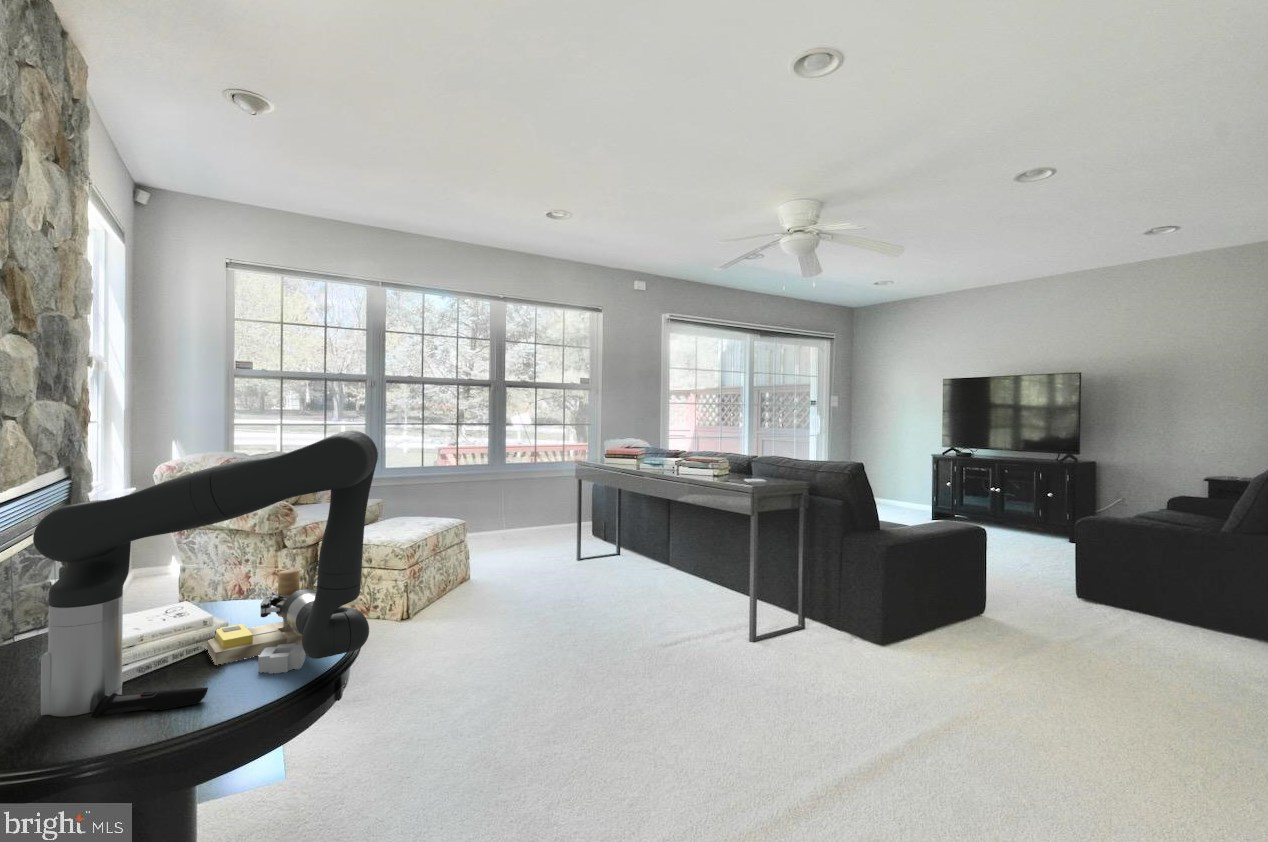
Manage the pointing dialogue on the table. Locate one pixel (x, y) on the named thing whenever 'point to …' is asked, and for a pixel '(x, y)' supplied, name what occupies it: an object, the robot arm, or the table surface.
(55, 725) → the table surface
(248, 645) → the board
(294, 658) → the block
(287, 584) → the awl
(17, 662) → the table surface
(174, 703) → the electric trimmer
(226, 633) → the block
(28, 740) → the table surface
